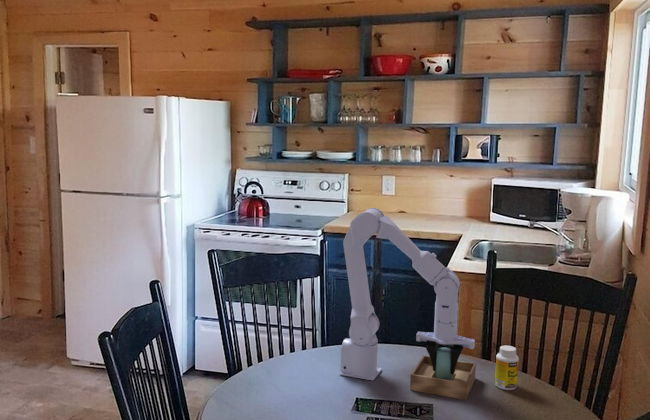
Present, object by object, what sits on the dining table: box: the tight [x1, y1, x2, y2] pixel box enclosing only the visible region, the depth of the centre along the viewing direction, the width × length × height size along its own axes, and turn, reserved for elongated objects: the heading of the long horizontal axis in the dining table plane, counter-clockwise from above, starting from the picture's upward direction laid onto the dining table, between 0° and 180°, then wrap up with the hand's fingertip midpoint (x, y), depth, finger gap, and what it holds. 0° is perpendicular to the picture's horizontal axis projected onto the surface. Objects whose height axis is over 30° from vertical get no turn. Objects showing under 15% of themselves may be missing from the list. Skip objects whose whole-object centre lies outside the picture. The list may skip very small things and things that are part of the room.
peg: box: [436, 347, 452, 381], centre depth 152 cm, size 4×4×8 cm
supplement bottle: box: [494, 345, 520, 391], centre depth 151 cm, size 6×6×10 cm
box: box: [409, 355, 477, 401], centre depth 152 cm, size 14×14×4 cm
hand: (443, 371), depth 152 cm, fingers closed on peg, 4 cm apart
